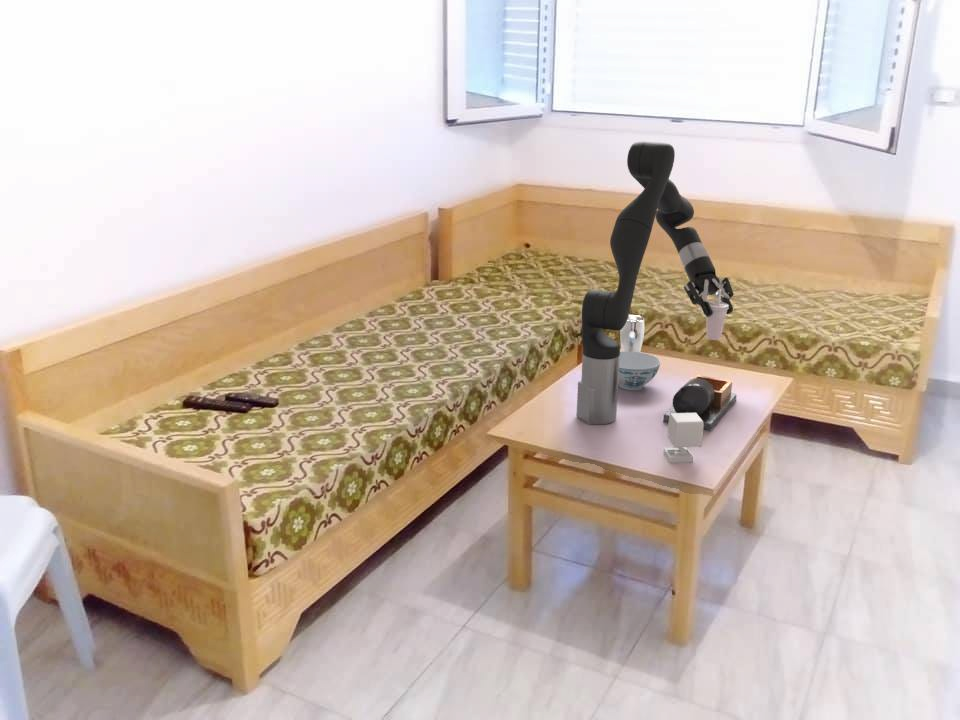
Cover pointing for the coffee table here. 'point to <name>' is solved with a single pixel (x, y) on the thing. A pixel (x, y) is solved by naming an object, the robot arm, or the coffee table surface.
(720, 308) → the smoothie
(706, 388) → the motor mount
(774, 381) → the coffee table surface
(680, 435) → the security camera
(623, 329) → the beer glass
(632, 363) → the chinaware
